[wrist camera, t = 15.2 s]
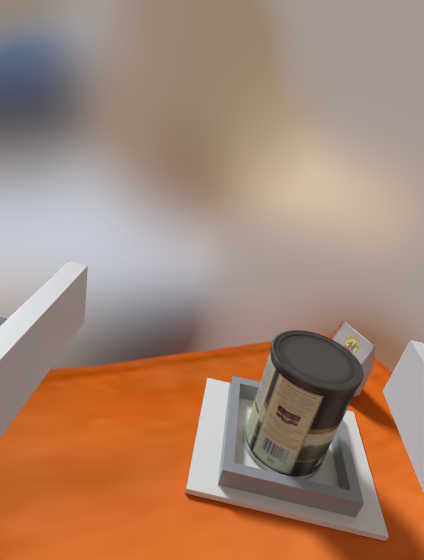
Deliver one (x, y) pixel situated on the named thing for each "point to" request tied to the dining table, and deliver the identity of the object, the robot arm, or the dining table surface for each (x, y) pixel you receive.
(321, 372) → the coffee can
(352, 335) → the white printed box
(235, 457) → the caddy
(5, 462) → the dining table surface
